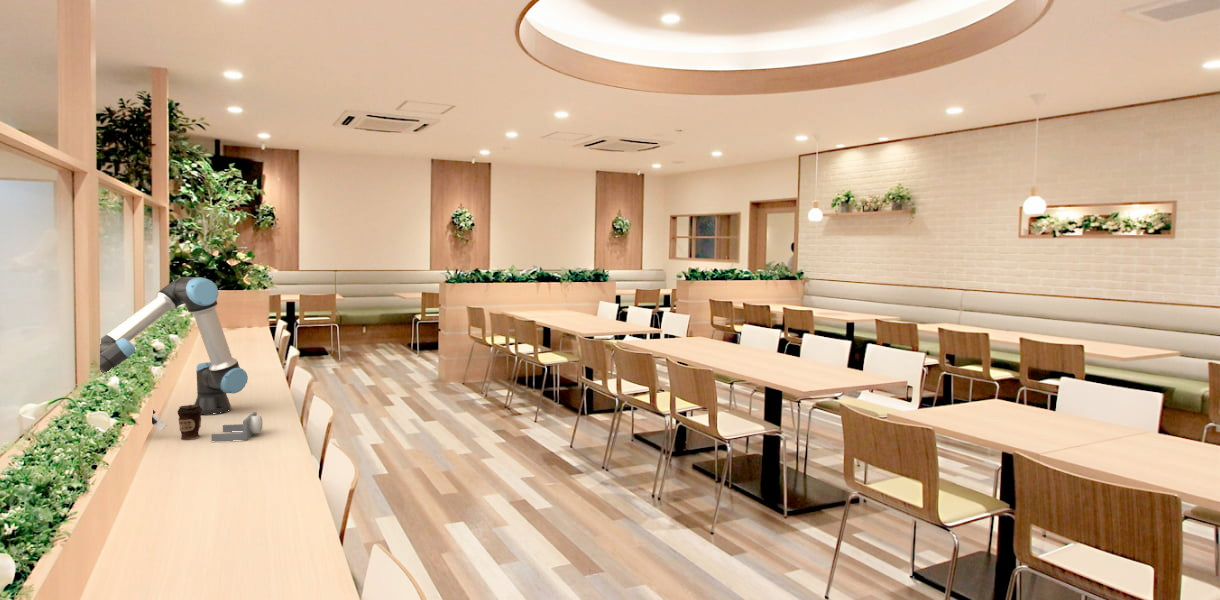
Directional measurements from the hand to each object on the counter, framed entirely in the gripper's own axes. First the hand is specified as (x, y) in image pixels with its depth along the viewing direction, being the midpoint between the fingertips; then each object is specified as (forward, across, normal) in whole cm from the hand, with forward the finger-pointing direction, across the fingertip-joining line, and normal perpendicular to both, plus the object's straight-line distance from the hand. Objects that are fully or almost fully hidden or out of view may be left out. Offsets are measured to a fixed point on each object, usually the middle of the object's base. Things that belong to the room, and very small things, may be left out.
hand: (163, 427), depth 283 cm
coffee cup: (+10, 0, +3) cm, 11 cm away
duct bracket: (+23, 0, +16) cm, 28 cm away
